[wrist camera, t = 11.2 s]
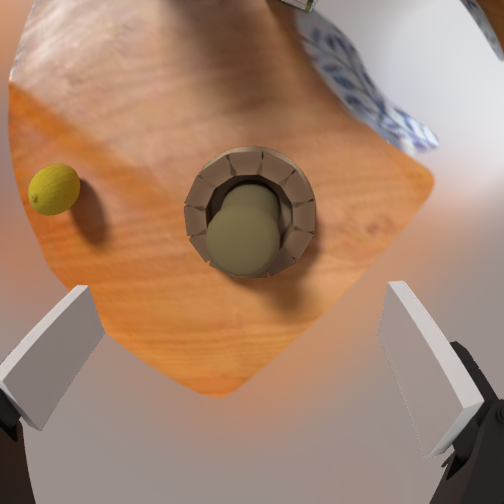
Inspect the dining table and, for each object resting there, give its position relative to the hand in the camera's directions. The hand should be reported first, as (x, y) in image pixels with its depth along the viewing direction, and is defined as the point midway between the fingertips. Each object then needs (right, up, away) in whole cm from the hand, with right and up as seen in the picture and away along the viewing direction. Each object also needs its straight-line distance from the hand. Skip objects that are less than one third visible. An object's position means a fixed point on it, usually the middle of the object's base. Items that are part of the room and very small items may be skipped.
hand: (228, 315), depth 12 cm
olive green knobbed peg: (+1, +7, +17) cm, 19 cm away
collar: (+1, +7, +18) cm, 19 cm away
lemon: (-20, +11, +18) cm, 29 cm away
